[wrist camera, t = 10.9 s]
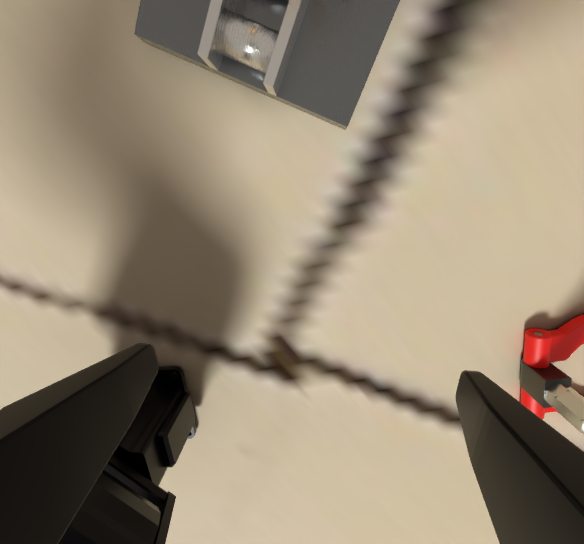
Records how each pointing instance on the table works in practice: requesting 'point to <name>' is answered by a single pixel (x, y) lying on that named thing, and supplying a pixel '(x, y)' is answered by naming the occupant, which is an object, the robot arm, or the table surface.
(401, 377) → the table surface
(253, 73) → the grey fixture tray
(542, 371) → the tow hook
